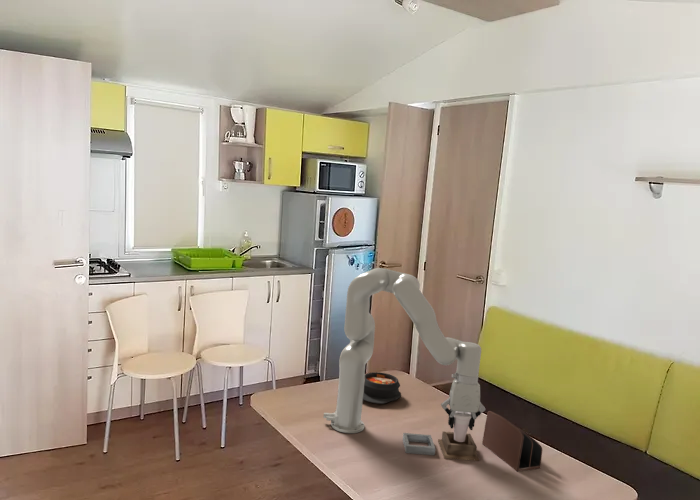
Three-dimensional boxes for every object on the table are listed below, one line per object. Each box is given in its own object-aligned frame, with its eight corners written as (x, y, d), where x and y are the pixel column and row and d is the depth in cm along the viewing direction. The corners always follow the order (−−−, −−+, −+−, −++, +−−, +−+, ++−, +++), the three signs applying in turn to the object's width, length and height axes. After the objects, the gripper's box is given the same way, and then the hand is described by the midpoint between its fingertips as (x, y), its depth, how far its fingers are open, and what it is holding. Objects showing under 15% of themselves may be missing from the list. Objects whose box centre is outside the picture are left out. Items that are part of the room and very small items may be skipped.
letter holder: (517, 472, 179) (522, 432, 178) (481, 444, 197) (486, 407, 196) (540, 469, 183) (546, 429, 181) (503, 441, 201) (508, 405, 200)
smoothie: (468, 445, 186) (473, 406, 184) (449, 442, 187) (454, 403, 185) (468, 437, 192) (472, 399, 190) (450, 434, 193) (454, 396, 191)
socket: (444, 458, 184) (445, 445, 183) (437, 441, 196) (439, 429, 195) (478, 461, 184) (480, 448, 184) (470, 444, 196) (472, 432, 195)
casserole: (368, 383, 248) (370, 365, 247) (407, 392, 242) (409, 374, 241) (348, 401, 225) (350, 382, 224) (391, 411, 219) (393, 391, 218)
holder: (405, 452, 185) (406, 446, 185) (402, 439, 195) (403, 432, 195) (434, 455, 185) (435, 448, 185) (430, 441, 195) (430, 435, 195)
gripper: (444, 380, 183) (438, 430, 185) (494, 384, 183) (487, 434, 185) (440, 372, 190) (434, 421, 192) (488, 376, 191) (482, 425, 193)
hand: (460, 427), depth 189 cm, fingers closed on smoothie, 6 cm apart
